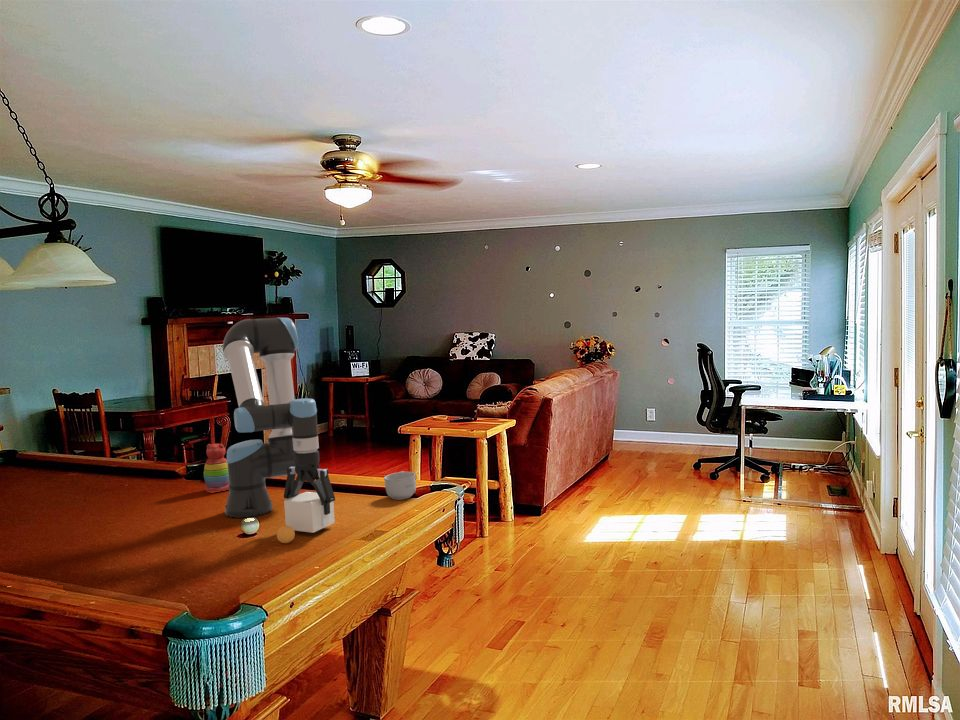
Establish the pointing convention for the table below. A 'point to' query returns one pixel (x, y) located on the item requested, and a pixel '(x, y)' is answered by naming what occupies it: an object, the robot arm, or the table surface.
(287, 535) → the ball
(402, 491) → the teacup
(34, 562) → the table surface
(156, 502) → the table surface
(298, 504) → the white gift box
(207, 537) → the table surface
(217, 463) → the stacking bear
